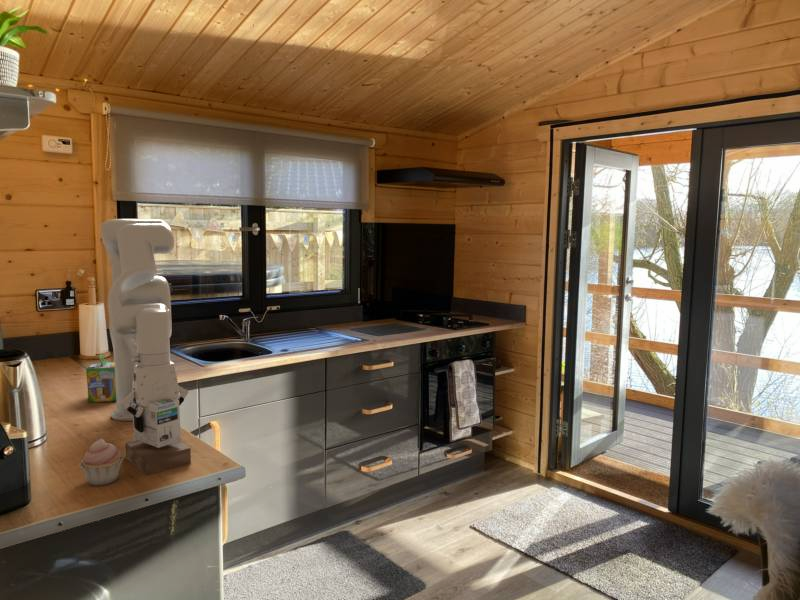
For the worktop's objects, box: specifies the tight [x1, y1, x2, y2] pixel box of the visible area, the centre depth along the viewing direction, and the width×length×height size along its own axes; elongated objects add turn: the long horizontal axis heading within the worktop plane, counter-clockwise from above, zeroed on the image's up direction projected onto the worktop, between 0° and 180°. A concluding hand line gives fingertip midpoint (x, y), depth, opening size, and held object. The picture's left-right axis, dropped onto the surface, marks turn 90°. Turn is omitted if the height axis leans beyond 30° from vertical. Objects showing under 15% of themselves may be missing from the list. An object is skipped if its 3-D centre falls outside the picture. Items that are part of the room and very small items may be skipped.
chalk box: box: [85, 353, 116, 404], centre depth 208 cm, size 9×9×15 cm
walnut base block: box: [124, 439, 192, 476], centre depth 158 cm, size 14×11×4 cm
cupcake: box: [78, 438, 125, 487], centre depth 146 cm, size 9×9×10 cm
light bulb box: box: [132, 399, 182, 448], centre depth 157 cm, size 11×7×11 cm, turn 56°
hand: (156, 426), depth 157 cm, fingers closed on light bulb box, 7 cm apart
